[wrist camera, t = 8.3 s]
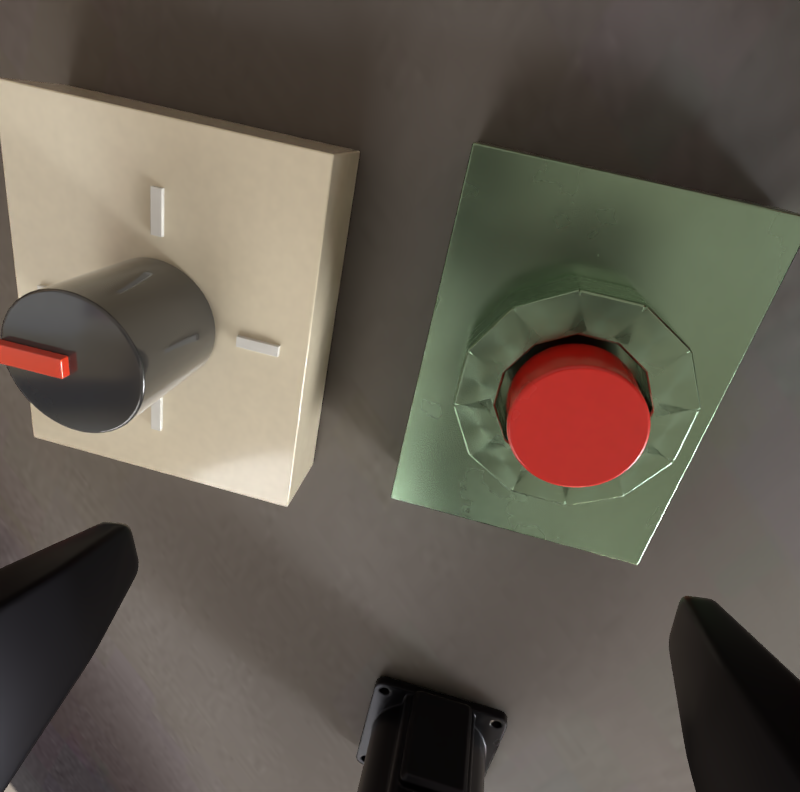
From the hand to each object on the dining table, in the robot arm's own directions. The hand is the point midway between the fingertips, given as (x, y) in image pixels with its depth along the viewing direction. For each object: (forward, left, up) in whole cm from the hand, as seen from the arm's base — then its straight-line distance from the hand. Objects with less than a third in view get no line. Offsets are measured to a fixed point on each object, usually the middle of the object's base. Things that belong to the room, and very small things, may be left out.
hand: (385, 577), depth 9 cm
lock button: (0, -4, -8) cm, 9 cm away
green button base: (0, -4, -12) cm, 13 cm away
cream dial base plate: (-1, +9, -12) cm, 15 cm away
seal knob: (-1, +9, -9) cm, 13 cm away
